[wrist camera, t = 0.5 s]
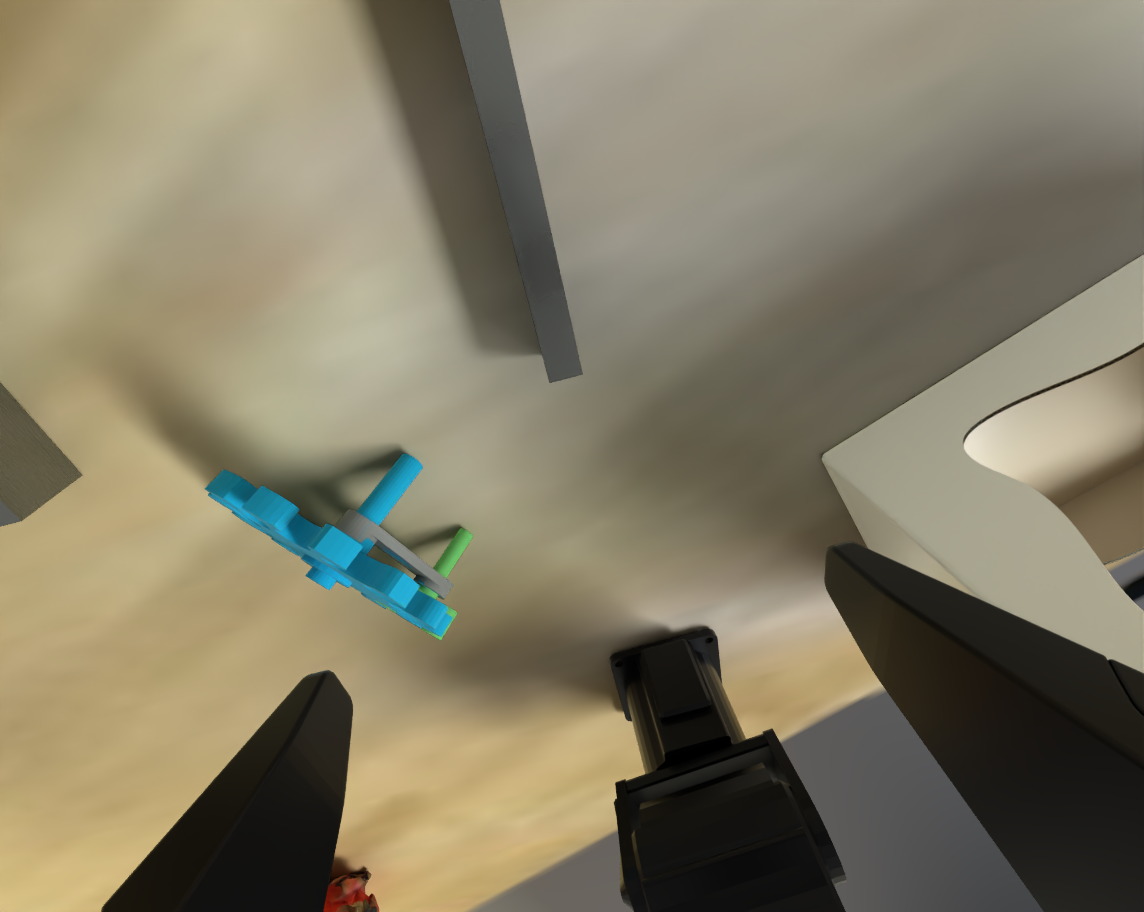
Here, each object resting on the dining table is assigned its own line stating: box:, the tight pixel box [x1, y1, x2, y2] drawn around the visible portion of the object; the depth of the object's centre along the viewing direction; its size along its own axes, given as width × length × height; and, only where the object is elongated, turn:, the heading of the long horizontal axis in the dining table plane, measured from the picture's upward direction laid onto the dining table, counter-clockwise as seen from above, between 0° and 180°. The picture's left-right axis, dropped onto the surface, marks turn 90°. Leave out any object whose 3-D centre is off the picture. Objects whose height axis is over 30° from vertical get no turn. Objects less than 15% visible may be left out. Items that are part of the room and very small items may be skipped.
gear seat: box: [0, 0, 583, 527], centre depth 15 cm, size 16×21×3 cm
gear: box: [205, 453, 473, 640], centre depth 20 cm, size 11×6×10 cm
